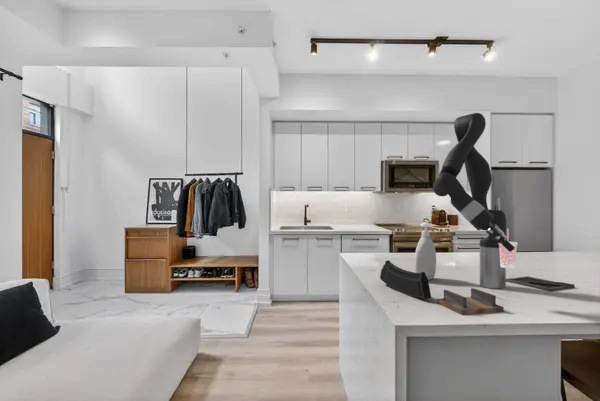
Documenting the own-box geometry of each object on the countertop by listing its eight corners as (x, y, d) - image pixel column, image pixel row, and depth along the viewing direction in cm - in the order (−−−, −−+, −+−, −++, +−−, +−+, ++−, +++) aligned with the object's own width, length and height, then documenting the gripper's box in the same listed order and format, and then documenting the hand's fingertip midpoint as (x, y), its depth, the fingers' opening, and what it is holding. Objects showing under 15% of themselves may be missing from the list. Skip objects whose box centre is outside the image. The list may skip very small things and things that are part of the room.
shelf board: (475, 300, 137) (475, 287, 137) (503, 311, 124) (503, 296, 124) (436, 302, 134) (436, 289, 134) (461, 314, 120) (461, 299, 120)
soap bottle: (425, 283, 165) (425, 223, 165) (410, 280, 172) (410, 222, 172) (443, 279, 174) (443, 222, 174) (428, 276, 180) (428, 221, 180)
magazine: (435, 278, 134) (391, 245, 161) (428, 279, 133) (384, 245, 160) (427, 319, 138) (385, 280, 166) (419, 320, 137) (378, 281, 164)
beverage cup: (509, 265, 136) (509, 227, 136) (521, 268, 130) (521, 228, 130) (494, 265, 135) (494, 227, 135) (506, 269, 129) (506, 229, 128)
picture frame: (574, 289, 157) (527, 279, 176) (574, 284, 157) (527, 275, 176) (550, 292, 151) (503, 282, 170) (550, 288, 151) (503, 278, 170)
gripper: (482, 208, 130) (521, 244, 124) (486, 207, 142) (522, 240, 136) (465, 222, 133) (503, 258, 127) (471, 220, 145) (506, 253, 139)
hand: (513, 248), depth 131 cm, fingers closed on beverage cup, 6 cm apart
